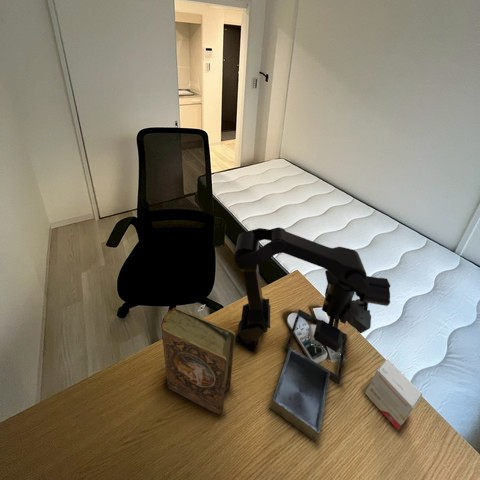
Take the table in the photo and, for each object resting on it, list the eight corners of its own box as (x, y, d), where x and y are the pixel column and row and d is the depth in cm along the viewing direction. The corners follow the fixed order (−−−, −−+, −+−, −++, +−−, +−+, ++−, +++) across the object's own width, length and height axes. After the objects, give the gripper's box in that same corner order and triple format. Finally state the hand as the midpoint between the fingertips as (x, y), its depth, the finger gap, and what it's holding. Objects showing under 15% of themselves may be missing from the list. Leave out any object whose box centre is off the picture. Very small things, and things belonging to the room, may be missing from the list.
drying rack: (284, 351, 73) (286, 343, 71) (297, 312, 84) (299, 305, 82) (338, 384, 67) (342, 376, 65) (345, 338, 78) (348, 330, 76)
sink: (270, 408, 61) (272, 399, 59) (287, 355, 72) (289, 346, 70) (315, 441, 56) (319, 433, 55) (326, 380, 67) (330, 371, 65)
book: (164, 385, 64) (157, 327, 53) (175, 362, 68) (171, 305, 58) (221, 416, 59) (226, 359, 49) (229, 389, 64) (236, 332, 53)
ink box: (406, 417, 62) (425, 394, 57) (396, 432, 59) (415, 409, 54) (373, 380, 68) (387, 357, 63) (363, 392, 65) (377, 369, 60)
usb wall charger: (320, 333, 78) (322, 326, 77) (324, 358, 72) (327, 350, 70) (307, 331, 79) (310, 324, 77) (311, 356, 72) (313, 348, 71)
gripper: (372, 346, 52) (352, 383, 59) (375, 281, 67) (359, 317, 74) (320, 317, 57) (306, 355, 63) (334, 263, 72) (322, 298, 78)
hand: (326, 329), depth 69 cm, fingers open, 9 cm apart
